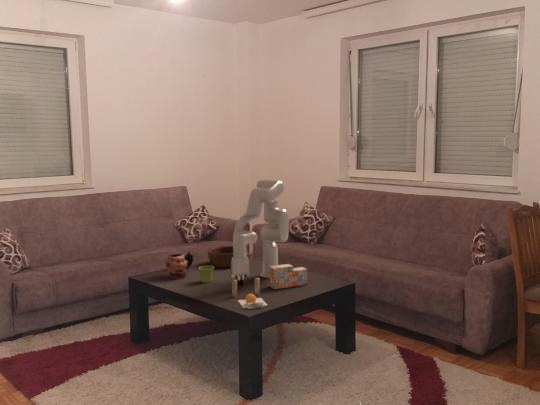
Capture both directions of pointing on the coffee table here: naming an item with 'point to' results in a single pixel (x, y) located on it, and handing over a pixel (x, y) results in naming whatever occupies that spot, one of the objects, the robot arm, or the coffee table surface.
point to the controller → (188, 259)
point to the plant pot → (206, 273)
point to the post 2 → (257, 286)
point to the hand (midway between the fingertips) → (240, 286)
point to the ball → (250, 298)
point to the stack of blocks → (287, 276)
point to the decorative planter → (176, 265)
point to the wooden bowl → (221, 256)
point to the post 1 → (234, 288)
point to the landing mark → (244, 304)
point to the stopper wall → (255, 305)
